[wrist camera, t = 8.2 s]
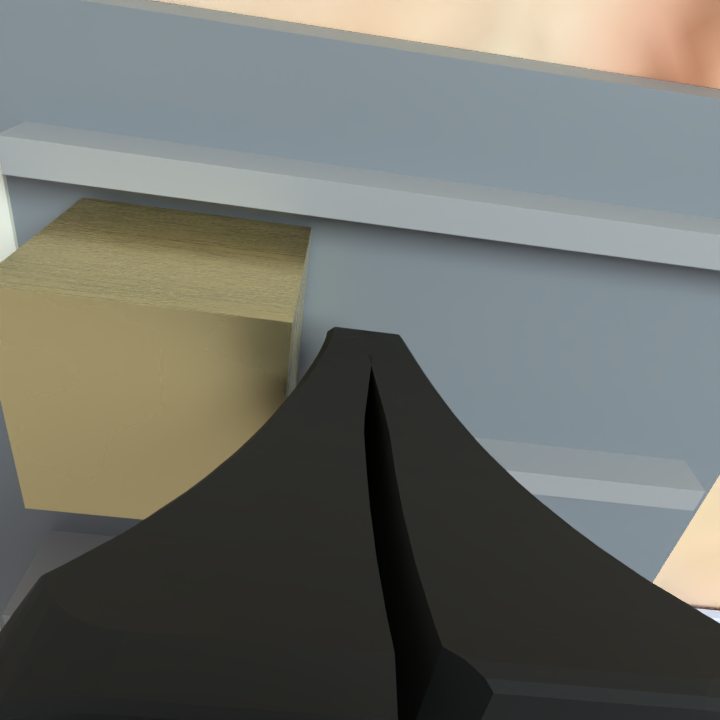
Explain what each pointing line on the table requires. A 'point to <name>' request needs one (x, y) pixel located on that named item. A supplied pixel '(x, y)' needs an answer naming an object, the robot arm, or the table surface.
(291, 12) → the table surface
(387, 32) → the table surface
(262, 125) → the panel
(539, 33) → the table surface
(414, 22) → the table surface
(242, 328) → the slider knob
